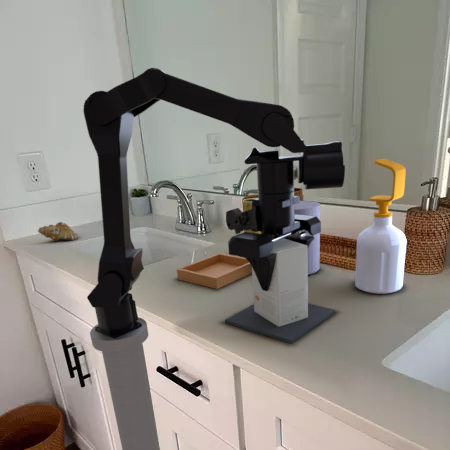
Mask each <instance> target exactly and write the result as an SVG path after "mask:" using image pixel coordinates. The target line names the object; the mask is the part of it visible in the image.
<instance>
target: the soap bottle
mask: <svg viewBox="0 0 450 450" xmlns="http://www.w3.org/2000/svg"><path fill="white" fill-rule="evenodd" d="M373 164H375V165H376V166H380V167H383V168H385V169H387V170H390V171H391V172H392V177H393V178H392V189H391V190H392V192H391V193H392V194H391V195H381V194H380V195H379V194H378V195H374V196H370V197H369V198H368V201H370V202H375V205H376V206H378V211H374V212H373V222H372V225H370V226H368V227H366V228H365V229H363V230H362V231H361V232H360V233H358V235H357V238H356V253H355V275H354V276H355V277H354V278H355V279H354V286H355V287H356V288H357V289H358V290H360V291H363V292H365V293H370V294H377V295H379V294H382V295H383V294H392V293H395V292H398V291H400V290H401V289H402V288H403V285H404V276H405V275H404V274H405V261H406V252H407V243H408V242H407V241H408V240H407V238H406V235H405V233H404V232H403V230H401V229H399V228H398V227H396V226H394V225H393V224H392V223H393V212H392V211H389V206H391V205H392V202H393V201H396V200H398V199H401V198H402V197H403V196H404V195H405V186H406V177H407V176H406V175H407V170H406V167H405V166H404V165H403V164H401V163H398V162H395V161H392V160H391V159H387V158H379V159H375V160H374V161H373Z"/></svg>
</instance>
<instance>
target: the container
mask: <svg viewBox="0 0 450 450" xmlns="http://www.w3.org/2000/svg"><path fill="white" fill-rule="evenodd" d="M295 214H296V215H307V216H317V218H318V219H319V220H320V221H321V203H320V202H317V201H313V200H300V203H297V204H294V215H295ZM306 232H308V231H306ZM308 236H314V240H312V242H311V244H310V245H309V247H308V276H310V275H314V274H315V273H317V272H318V271H319V270H320V264H321V263H320V257H321V256H320V255H321V254H320V253H321V250H320V248H321V232H320V233H318V234H316V235H310V234H309V233H308Z"/></svg>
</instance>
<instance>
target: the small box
mask: <svg viewBox="0 0 450 450" xmlns="http://www.w3.org/2000/svg"><path fill="white" fill-rule="evenodd" d="M271 253H277V256H276V260H275V265H274V269H273V274H272V279H271V283H270V287H269V290H268V291H264V290H262V288H261V286H260V284H259V281H258V279H257V277H256V274H255V272H254V270H253V268H252V273H251V274H252V275H251V276H252V292H253V293H252V294H253V304H254V312H256V313H257V314H259V315H261V316H262V317H264V318H265V319H267V320H269V321H270V322H272V323H273V324H275V325H277V326H278V327H280V326H283V325H286V324H290V323H293V322H296V321H299V320H302V319H305V318H307V317H308V304H309V275H308V246H307V245H304V244H300V243H297V242H294V241H291V240H288V239H284V238H283V239H280V240H278V241H275V242H273V249H272V251H271Z"/></svg>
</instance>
